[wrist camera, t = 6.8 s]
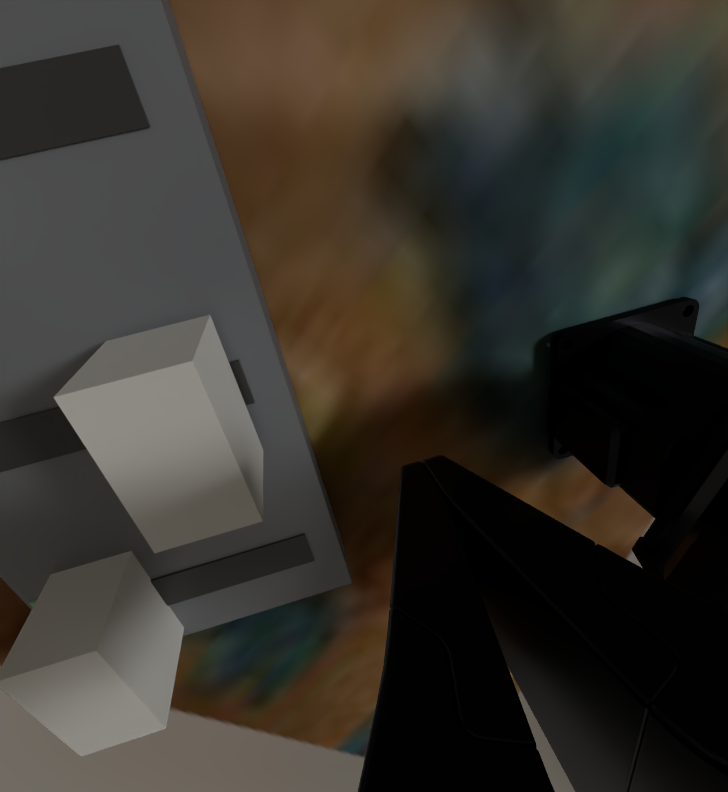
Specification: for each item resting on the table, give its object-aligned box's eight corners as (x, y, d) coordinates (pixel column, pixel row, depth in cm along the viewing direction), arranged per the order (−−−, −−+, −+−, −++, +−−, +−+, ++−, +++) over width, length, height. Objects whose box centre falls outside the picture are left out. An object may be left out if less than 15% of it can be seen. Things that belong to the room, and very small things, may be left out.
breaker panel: (150, -56, 11) (41, -271, 5) (345, 549, 21) (370, 669, 16) (-390, 42, 10) (-1149, -108, 4) (100, 624, 20) (45, 777, 15)
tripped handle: (209, 314, 12) (192, 360, 9) (263, 450, 15) (262, 521, 12) (106, 340, 12) (53, 397, 9) (177, 474, 15) (154, 553, 12)
